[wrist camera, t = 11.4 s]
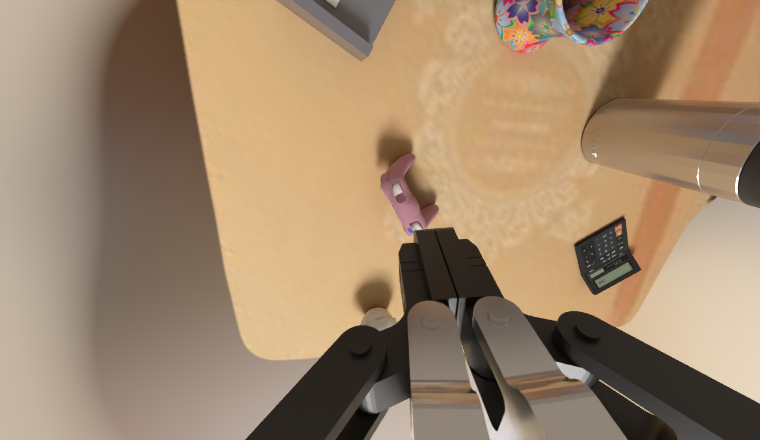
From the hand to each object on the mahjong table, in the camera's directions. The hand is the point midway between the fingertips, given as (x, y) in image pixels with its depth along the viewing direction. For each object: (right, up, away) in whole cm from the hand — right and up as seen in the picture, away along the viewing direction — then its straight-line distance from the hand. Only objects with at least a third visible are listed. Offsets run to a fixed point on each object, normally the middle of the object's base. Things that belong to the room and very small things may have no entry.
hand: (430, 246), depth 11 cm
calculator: (+39, -5, +41) cm, 56 cm away
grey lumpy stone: (-3, -15, +36) cm, 39 cm away
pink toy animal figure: (+2, +5, +27) cm, 28 cm away
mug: (+16, +26, +21) cm, 37 cm away
